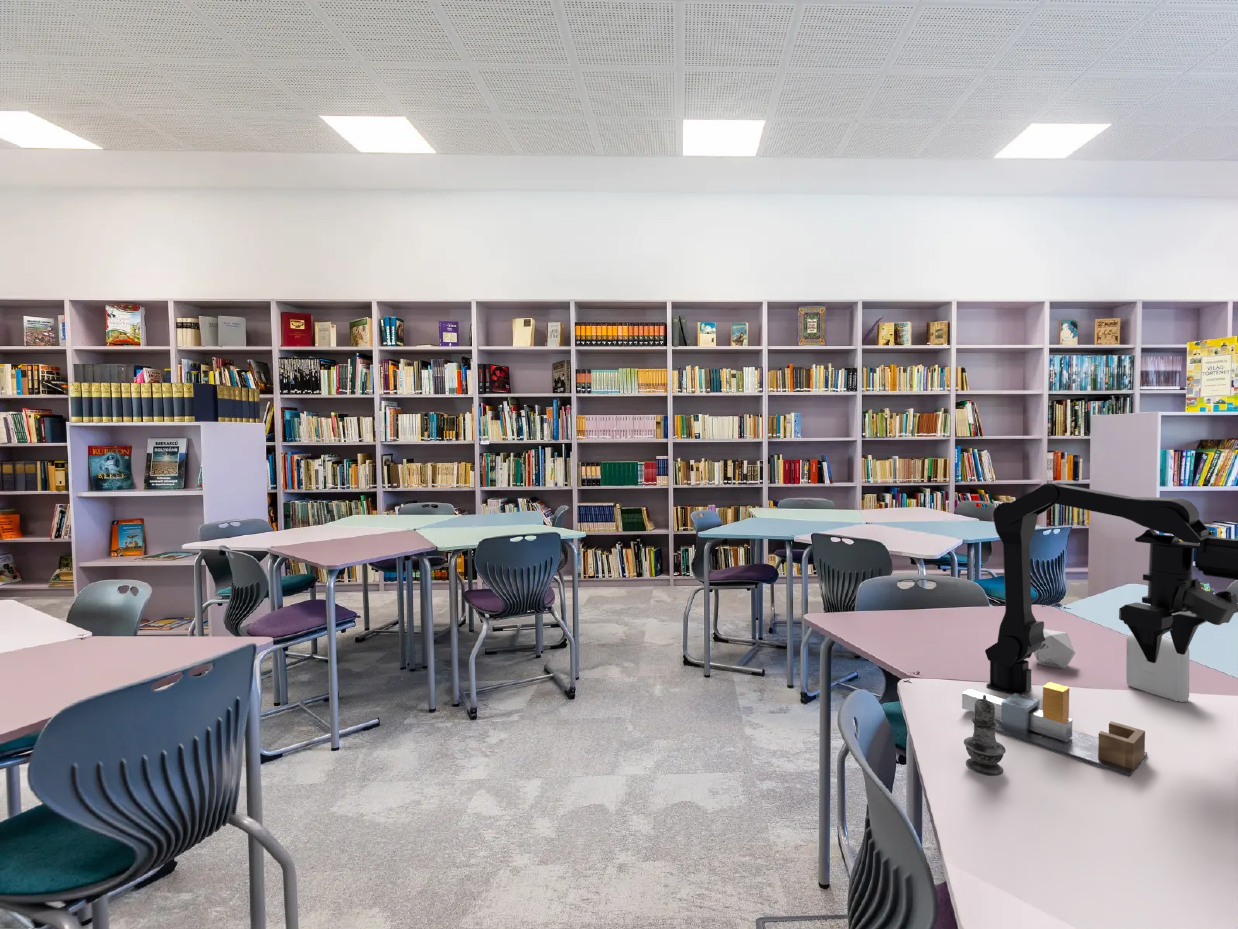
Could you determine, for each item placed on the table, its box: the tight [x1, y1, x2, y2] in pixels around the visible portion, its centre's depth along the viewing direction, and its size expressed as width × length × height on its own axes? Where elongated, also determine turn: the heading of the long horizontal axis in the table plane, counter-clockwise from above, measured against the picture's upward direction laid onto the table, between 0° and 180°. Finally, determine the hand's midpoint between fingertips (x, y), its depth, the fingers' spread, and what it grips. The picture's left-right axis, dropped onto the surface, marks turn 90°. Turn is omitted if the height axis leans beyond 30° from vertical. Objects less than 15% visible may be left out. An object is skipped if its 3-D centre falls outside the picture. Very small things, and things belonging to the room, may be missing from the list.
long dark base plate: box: [995, 693, 1148, 778], centre depth 107 cm, size 20×10×5 cm, turn 38°
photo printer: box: [1125, 631, 1190, 703], centre depth 127 cm, size 10×4×12 cm, turn 20°
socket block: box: [1098, 720, 1146, 769], centre depth 101 cm, size 4×7×4 cm
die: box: [1033, 628, 1076, 670], centre depth 143 cm, size 8×9×10 cm
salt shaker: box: [963, 693, 1007, 777], centre depth 100 cm, size 6×6×12 cm
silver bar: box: [961, 681, 1073, 741], centre depth 114 cm, size 17×3×8 cm, turn 38°
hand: (1166, 658), depth 109 cm, fingers open, 9 cm apart
